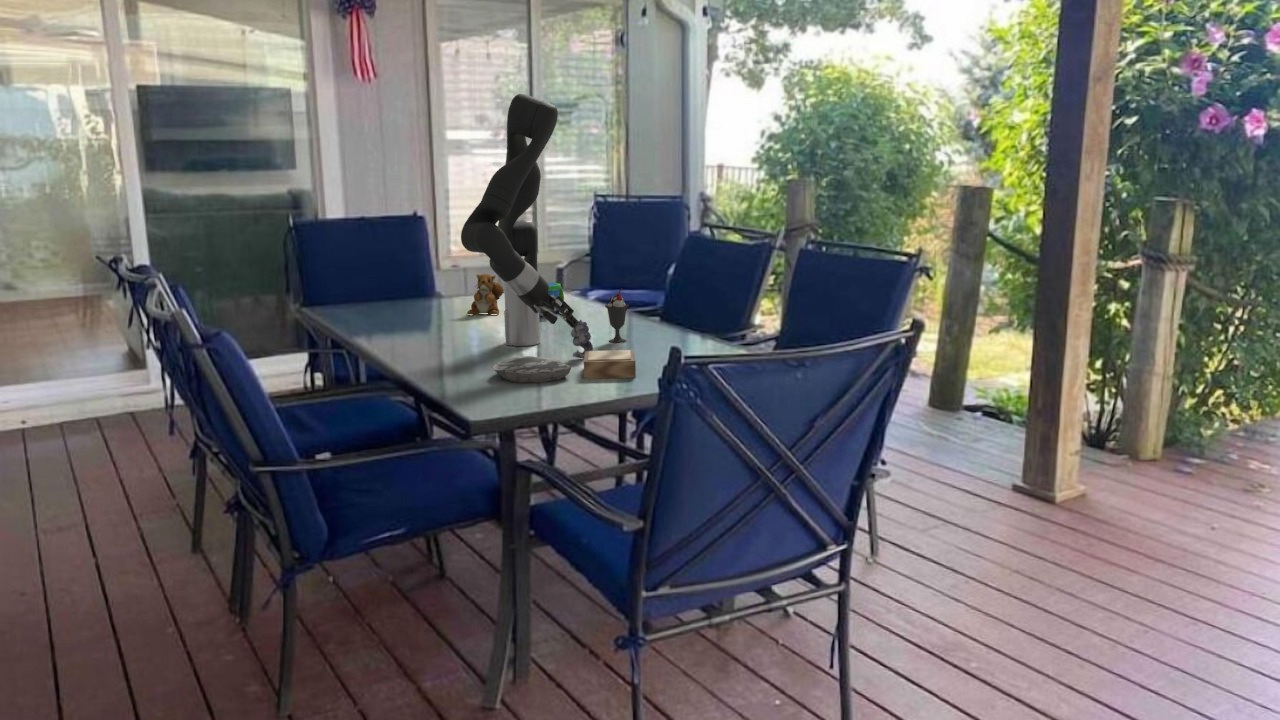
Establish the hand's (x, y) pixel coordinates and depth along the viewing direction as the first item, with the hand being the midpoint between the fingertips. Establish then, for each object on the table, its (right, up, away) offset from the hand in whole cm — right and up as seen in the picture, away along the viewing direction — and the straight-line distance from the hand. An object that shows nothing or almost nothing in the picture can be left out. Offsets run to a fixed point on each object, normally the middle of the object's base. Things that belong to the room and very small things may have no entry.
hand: (565, 323), depth 242 cm
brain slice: (-7, -13, -13) cm, 20 cm away
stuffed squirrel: (-32, +6, +77) cm, 84 cm away
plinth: (+12, -12, -11) cm, 20 cm away
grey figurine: (+4, -9, +6) cm, 11 cm away
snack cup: (-12, +5, +71) cm, 72 cm away
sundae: (+13, -4, +26) cm, 29 cm away
